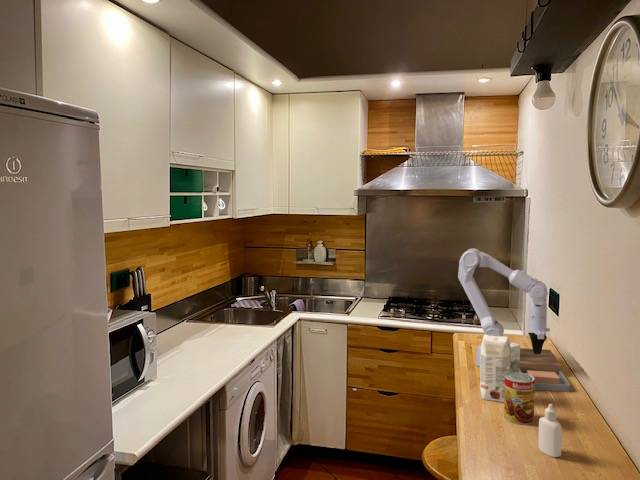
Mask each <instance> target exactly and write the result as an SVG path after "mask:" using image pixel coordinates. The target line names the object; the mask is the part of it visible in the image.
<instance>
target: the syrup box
mask: <svg viewBox="0 0 640 480" xmlns="http://www.w3.org/2000/svg"><path fill="white" fill-rule="evenodd" d="M510 346H511V363H510V372H519V367H520V348H521V344H519V343H516V342H514V341H510Z"/></svg>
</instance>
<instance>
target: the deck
mask: <svg viewBox="0 0 640 480" xmlns="http://www.w3.org/2000/svg"><path fill="white" fill-rule="evenodd" d="M519 368H520V370H521V373H527V370H529V371H546V372H556V374H557V375H559V371H561V372H562V364H561V362H559V360H558V358H557V357H556V356H555V354H554V353H553V352H552V350H551V349H543V348H542V351H541V354H534V353H533V348H525V347H524V348H521V347H520V367H519Z"/></svg>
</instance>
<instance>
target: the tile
mask: <svg viewBox="0 0 640 480" xmlns="http://www.w3.org/2000/svg"><path fill="white" fill-rule="evenodd" d="M527 374H529V375H531V376H533V377H534V378H535V383H549V384H559V377H558V375H557V374H556V372H546V371H529V370H527Z"/></svg>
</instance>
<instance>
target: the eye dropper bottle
mask: <svg viewBox="0 0 640 480" xmlns="http://www.w3.org/2000/svg"><path fill="white" fill-rule="evenodd" d="M562 428H563V427H562V425H561V423H560V422H559V421H558V420H557V411H556V409H554V408H553V404H552V403H549V404H548V407H546V408H545V409H544V416H542V417H540V418H539V420H538V442H537V443H538V444H537V445H538V449H539V450H540V451H541V452H542V453H543V454H545V455H547V456H548V457H551V458H558V457H561V456H562V436H563V435H562V433H563V432H562Z"/></svg>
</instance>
